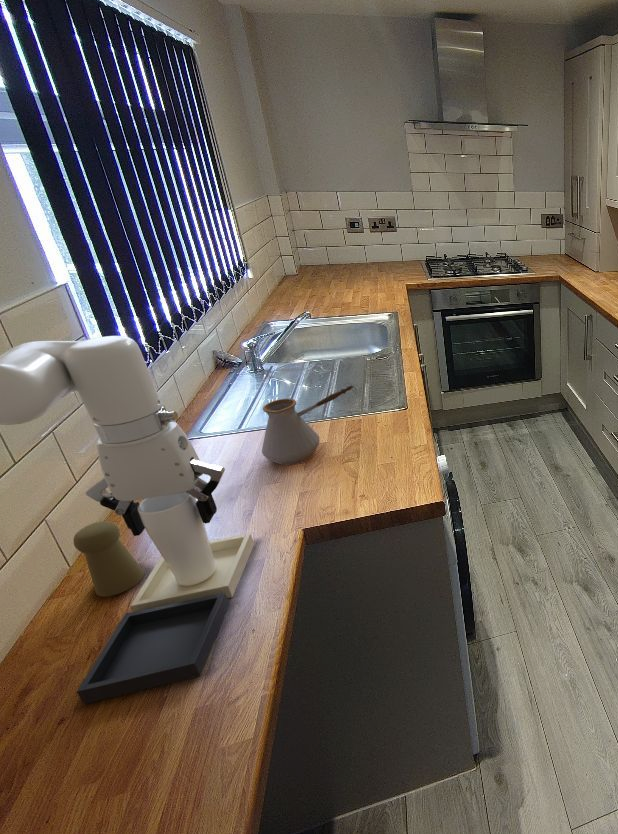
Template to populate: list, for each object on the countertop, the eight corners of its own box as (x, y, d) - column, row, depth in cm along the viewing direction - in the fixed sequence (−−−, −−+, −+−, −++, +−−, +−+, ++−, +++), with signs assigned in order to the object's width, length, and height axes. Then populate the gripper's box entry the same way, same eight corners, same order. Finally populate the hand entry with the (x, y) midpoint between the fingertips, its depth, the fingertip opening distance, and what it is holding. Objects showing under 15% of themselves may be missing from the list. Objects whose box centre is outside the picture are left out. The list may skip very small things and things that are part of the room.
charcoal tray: (84, 704, 66) (75, 691, 65) (131, 625, 77) (125, 613, 76) (200, 675, 69) (194, 663, 68) (229, 604, 80) (225, 592, 79)
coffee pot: (260, 473, 112) (239, 411, 106) (270, 447, 122) (252, 389, 116) (367, 454, 119) (353, 395, 113) (369, 431, 129) (356, 375, 122)
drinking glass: (217, 554, 89) (188, 481, 83) (227, 575, 85) (196, 499, 78) (168, 575, 85) (133, 499, 79) (176, 598, 80) (139, 520, 74)
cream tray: (135, 618, 78) (129, 606, 77) (170, 560, 89) (165, 549, 88) (232, 597, 81) (227, 585, 80) (254, 544, 92) (250, 533, 91)
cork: (123, 596, 82) (94, 541, 77) (85, 596, 82) (53, 541, 77) (153, 568, 87) (128, 515, 83) (118, 568, 87) (90, 515, 83)
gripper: (214, 404, 79) (247, 498, 86) (72, 421, 74) (120, 520, 81) (195, 427, 72) (233, 527, 80) (39, 448, 68) (94, 552, 75)
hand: (176, 523), depth 80 cm, fingers open, 8 cm apart
